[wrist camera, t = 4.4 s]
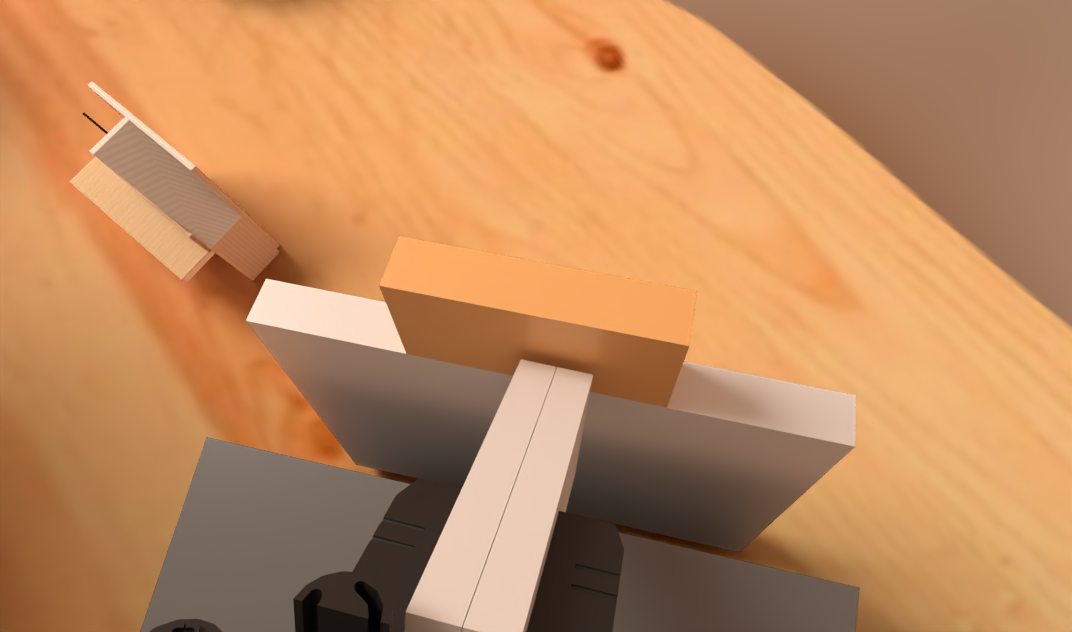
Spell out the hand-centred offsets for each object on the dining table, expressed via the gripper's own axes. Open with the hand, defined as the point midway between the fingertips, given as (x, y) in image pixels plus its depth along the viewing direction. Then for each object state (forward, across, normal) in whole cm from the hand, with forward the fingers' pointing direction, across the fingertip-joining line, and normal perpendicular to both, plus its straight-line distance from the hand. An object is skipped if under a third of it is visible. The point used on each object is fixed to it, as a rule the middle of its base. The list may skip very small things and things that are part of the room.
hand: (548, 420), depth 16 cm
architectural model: (+14, -17, -4) cm, 22 cm away
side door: (+8, 0, -9) cm, 11 cm away
